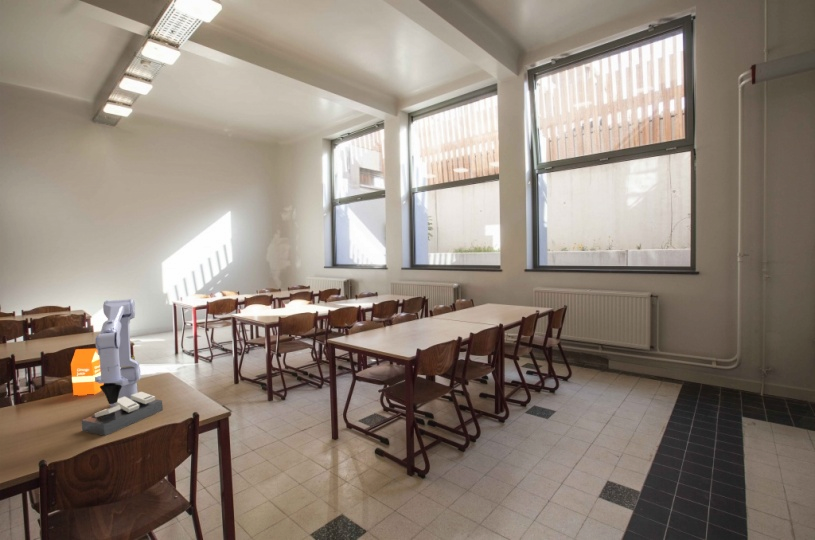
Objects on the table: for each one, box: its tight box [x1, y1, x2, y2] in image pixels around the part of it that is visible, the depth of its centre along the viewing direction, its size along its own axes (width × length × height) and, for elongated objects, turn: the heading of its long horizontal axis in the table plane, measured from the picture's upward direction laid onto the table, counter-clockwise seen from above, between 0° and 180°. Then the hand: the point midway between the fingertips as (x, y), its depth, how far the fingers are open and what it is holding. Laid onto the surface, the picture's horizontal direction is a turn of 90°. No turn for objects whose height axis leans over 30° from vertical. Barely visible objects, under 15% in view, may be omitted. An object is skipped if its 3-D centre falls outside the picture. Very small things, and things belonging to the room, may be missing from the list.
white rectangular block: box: [131, 391, 156, 404], centre depth 157 cm, size 8×4×2 cm, turn 70°
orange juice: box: [70, 347, 104, 396], centre depth 182 cm, size 8×9×20 cm
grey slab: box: [80, 398, 164, 437], centre depth 154 cm, size 12×26×5 cm, turn 160°
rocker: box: [94, 405, 121, 417], centre depth 145 cm, size 8×4×2 cm, turn 69°
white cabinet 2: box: [114, 396, 139, 413], centre depth 151 cm, size 8×4×2 cm, turn 70°
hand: (113, 403), depth 144 cm, fingers closed
